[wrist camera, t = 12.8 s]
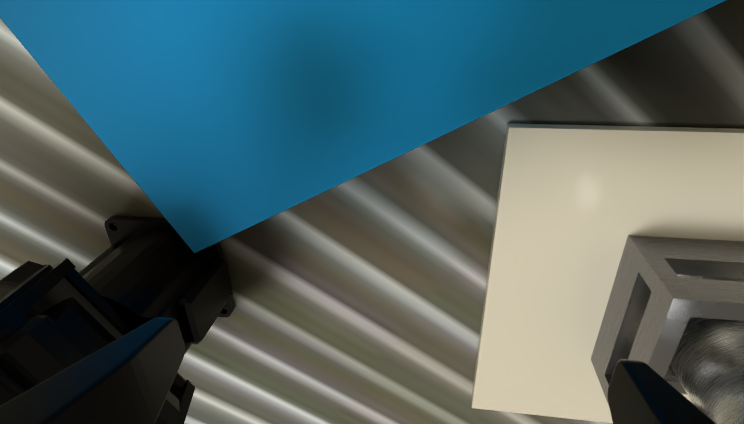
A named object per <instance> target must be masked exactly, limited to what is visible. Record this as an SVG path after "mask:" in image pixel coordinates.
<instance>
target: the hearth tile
mask: <svg viewBox="0 0 744 424" xmlns="http://www.w3.org/2000/svg"><path fill="white" fill-rule="evenodd" d="M628 235H634V236H653V237H672V238H690V239H709V240H728V241H744V129H733V128H688V127H643V126H598V125H553V124H508V123H507V129H506V136H505V144H504V152H503V159H502V167H501V175H500V182H499V190H498V198H497V205H496V213H495V221H494V228H493V236H492V244H491V251H490V259H489V267H488V274H487V282H486V290H485V297H484V305H483V313H482V320H481V328H480V336H479V344H478V351H477V359H476V367H475V374H474V382H473V390H472V397H471V405H472V408H477V409H486V410H496V411H505V412H514V413H523V414H533V415H542V416H551V417H560V418H570V419H579V420H588V421H597V422H607V423H613V421H612V417H611V412H610V408H609V405H608V403H607V400H606V398H605V395H604V392H603V390H602V387H601V385H600V382H599V380H598V377H597V374H596V372H595V369H594V367H593V364H592V361H591V356H592V353H593V350H594V346H595V343H596V340H597V336H598V333H599V330H600V327H601V323H602V320H603V317H604V313H605V310H606V307H607V303H608V300H609V297H610V293H611V290H612V287H613V283H614V280H615V277H616V273H617V270H618V267H619V263H620V260H621V257H622V254H623V250H624V247H625V244H626V240H627V237H628ZM677 275H678V274H677ZM679 276H682V275H678V277H679ZM730 279H731V280H733V281H739V282H744V279H741V278H730ZM651 293H652V292H651ZM642 319H643V317H642ZM641 321H642V320H641ZM640 324H641V323H640ZM639 327H640V326H639ZM638 330H639V329H638ZM637 333H638V331H637ZM636 335H637V334H636ZM635 338H636V337H635ZM634 341H635V340H634ZM633 344H634V343H633ZM632 347H633V345H632ZM631 349H632V348H631ZM630 352H631V351H630ZM682 395H684V396H685V397H686V398H687V399H688V400H689V401H691V400H690V398H689V397H688V395H687V394H682Z"/></svg>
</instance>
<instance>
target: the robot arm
mask: <svg viewBox="0 0 744 424" xmlns="http://www.w3.org/2000/svg"><path fill="white" fill-rule="evenodd" d="M114 224H115V225H116V226H117V227H116V226H115V225H114ZM105 228H106V231H107V234H108V236H109V239H110V242H111V245H112V246H111V247H110V248H109V249H108V250H106V251H105V252H104V253H103V254H101V255H100V256H99V257H98V258H96V259H95V260H94V261H93V262H91V263H90V264H89V265H88V266H87V267H85V268H84V269H83V270H82V271H80V272H79V273H78V272H77V271H76V270H75V269H74V268H75V265H74V264H73V263H72V262H71V261H70V260H69V259H68V258H66V259H64V260H62V261H61V262H59V263H57V264H56V265H54V266H52V267H51V266H50V265H41V264H37V263H34V262H30V261H28V262H26V263H24V264H23V265H21V266H20V267H18V268H17V269H15V270H14V271H12V272H11V273H9V274H8V275H7V276H5V277H4V278H2V279H1V280H0V424H184V421H185V418H186V415H187V412H188V409H189V406H190V403H191V399H192V396H193V393H194V390H195V387H194V386H193V385H192V384H191V383H190V381H189V380H185V379H184V378H183V377H182V376H181V375H180V374H179V373H178V372H177V371H178V369H179V367H180V364H181V362H182V360H183V357H184V354H185V353H186V352H187V350H188V349H189V347H190V346H191V344H198V343H199V342H200V341H202V339H203V338H204V336H205V335H206V333H207V332H208V330H209V329H210V327H211V326H212V324H213V323H214V321H215V320H216V318H217V317H228V316H230V315H231V313H232V312H233V310H234V305H233V301H232V288H231V283H230V279H229V274H228V269H227V265H226V260H225V259H224V257H223V255H222V250H221V245H220V242H218V243H215V244H213V245H211V246H209V247H206V248H204V249H202V250H200V251H198V252H196V253H194V252H193V251H192V250H191V249H190V247H189V246H188V245H187V244H186V243H185V241H184V240H183V239H182V238H181V236H180V235H179V234H178V233H177V232H176V230H175V229H174V228H173V227H172V226H171V224H170V223H169V222H168V221H167V219H164V218H146V217H128V216H112V217H110V218H109V219H108V220H106V221H105ZM224 308H225V309H224ZM607 396H608V403H609V408H610V412H611V417H612V421H613V424H716V423H715V422H714V421H713V420H711V419H710V418H709V417H708V416H707V415H706V414H704V413H703V412H702V411H701V410H700V409H699V408H698V407H696V406H695V405H694V404H693V403H692V402H691V401H689V400H688V399H687V398H686V397H685V396H684V395H682V394H681V393H680V392H679V391H678V390H677V389H675V388H674V387H673V386H672V385H671V384H670V383H668V382H667V381H666V380H665V379H664V378H663V377H661V376H660V375H659V374H658V373H657V372H656V371H655V370H653V369H652V368H651V367H650V366H649V365H647V364H646V363H644V362H642V361H637V360H626V359H622V360H619V361H618V362H617V364H616V367H615V369H614V372H613V375H612V378H611V381H610V384H609V387H608V393H607Z"/></svg>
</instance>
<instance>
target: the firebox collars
mask: <svg viewBox="0 0 744 424" xmlns="http://www.w3.org/2000/svg"><path fill="white" fill-rule="evenodd" d="M677 274H678V275H694V276H709V277H725V278H741V279H744V241H728V240H709V239H690V238H672V237H653V236H634V235H628V237H627V240H626V244H625V247H624V250H623V254H622V257H621V260H620V263H619V267H618V270H617V273H616V277H615V280H614V283H613V287H612V290H611V293H610V297H609V300H608V303H607V307H606V310H605V313H604V317H603V320H602V323H601V327H600V330H599V333H598V336H597V340H596V343H595V346H594V350H593V353H592V356H591V361H592V364H593V367H594V369H595V372H596V374H597V377H598V380H599V382H600V385H601V387H602V390H603V392H604V395H605V398H606V400H607V403H608V396H607V393H608V387H609V384H610V381H611V378H612V375H613V372H614V369H615V367H616V364H617V362H618V361H619V360H622V359H626V360H637V361H642V362H644V363H646V364H647V365H649V366H650V367H651V368H652V369H653V370H655V371H656V372H657V373H658V374H659V375H660V376H661V377H663V378H664V379H665V380H666V381H667V382H668V383H670V384H671V385H672V386H673V387H674V388H675V389H677V390H678V391H679V392H680V393H681V394H687V393H686V391H685V390H684V388H683V386H682V385H681V383H680V381H679V380H678V378H677V377H676V376H675V375H674V374H673V373H672V372H671V370H670V369H669V365H670V363H671V361H672V358H673V356H674V354H675V351H676V349H677V347H678V344H679V342H680V339H681V337H682V335H683V332H684V330H685V328H686V325H687V323H688V321H689V318H690V317H699V318H712V319H725V320H738V321H744V282H739V281H723V280H708V279H693V278H679V277H678V275H677ZM651 292H652V293H651ZM650 295H651V296H650ZM649 298H650V299H649ZM648 301H649V302H648ZM647 303H648V305H647ZM646 306H647V307H646ZM645 309H646V310H645ZM644 312H645V313H644ZM643 315H644V316H643ZM642 317H643V319H642ZM641 320H642V321H641ZM640 323H641V324H640ZM639 326H640V327H639ZM638 329H639V330H638ZM637 331H638V333H637ZM636 334H637V335H636ZM635 337H636V338H635ZM634 340H635V341H634ZM633 343H634V344H633ZM632 345H633V347H632ZM631 348H632V349H631ZM630 351H631V352H630ZM608 405H609V403H608Z"/></svg>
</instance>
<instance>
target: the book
mask: <svg viewBox="0 0 744 424" xmlns="http://www.w3.org/2000/svg"><path fill="white" fill-rule="evenodd" d="M724 1H726V0H0V18H1V19H2V20H3V22H4V23H5V24H6V25H7V27H8V28H9V29H10V30H11V31H12V33H13V34H14V35H15V36H16V37H17V39H18V40H19V41H20V42H21V44H22V45H23V46H24V47H25V48H26V50H27V51H28V52H29V53H30V54H31V56H32V57H33V58H34V59H35V61H36V62H37V63H38V64H39V65H40V67H41V68H42V69H43V70H44V71H45V73H46V74H47V75H48V76H49V78H50V79H51V80H52V81H53V82H54V84H55V85H56V86H57V87H58V88H59V90H60V91H61V92H62V93H63V95H64V96H65V97H66V98H67V99H68V101H69V102H70V103H71V104H72V105H73V107H74V108H75V109H76V110H77V111H78V113H79V114H80V115H81V116H82V118H83V119H84V120H85V121H86V122H87V124H88V125H89V126H90V127H91V128H92V130H93V131H94V132H95V133H96V135H97V136H98V137H99V138H100V139H101V141H102V142H103V143H104V144H105V145H106V147H107V148H108V149H109V150H110V152H111V153H112V154H113V155H114V156H115V158H116V159H117V160H118V161H119V162H120V164H121V165H122V166H123V167H124V169H125V170H126V171H127V172H128V173H129V175H130V176H131V177H132V178H133V179H134V181H135V182H136V183H137V184H138V186H139V187H140V188H141V189H142V190H143V192H144V193H145V194H146V195H147V196H148V198H149V199H150V200H151V201H152V202H153V204H154V205H155V206H156V207H157V209H158V210H159V211H160V212H161V213H162V215H163V216H164V217H165V218H166V219H167V221H168V222H169V223H170V224H171V226H172V227H173V228H174V229H175V230H176V232H177V233H178V234H179V235H180V236H181V238H182V239H183V240H184V241H185V243H186V244H187V245H188V246H189V247H190V249H191V250H192V251H193V252H194V253H196V252H198V251H200V250H202V249H204V248H206V247H209V246H211V245H213V244H215V243H218V242H220V241H222V240H224V239H226V238H228V237H230V236H232V235H234V234H236V233H239V232H241V231H243V230H245V229H247V228H249V227H251V226H253V225H255V224H257V223H260V222H262V221H264V220H266V219H268V218H270V217H272V216H274V215H276V214H278V213H281V212H283V211H285V210H287V209H289V208H291V207H293V206H295V205H297V204H299V203H302V202H304V201H306V200H308V199H310V198H312V197H314V196H316V195H318V194H320V193H323V192H325V191H327V190H329V189H331V188H333V187H335V186H337V185H339V184H341V183H344V182H346V181H348V180H350V179H352V178H354V177H356V176H358V175H360V174H362V173H365V172H367V171H369V170H371V169H373V168H375V167H377V166H379V165H381V164H383V163H386V162H388V161H390V160H392V159H394V158H396V157H398V156H400V155H402V154H404V153H407V152H409V151H411V150H413V149H415V148H417V147H419V146H421V145H423V144H425V143H428V142H430V141H432V140H434V139H436V138H438V137H440V136H442V135H444V134H446V133H449V132H451V131H453V130H455V129H457V128H459V127H461V126H463V125H465V124H467V123H470V122H472V121H474V120H476V119H478V118H480V117H482V116H484V115H486V114H488V113H491V112H493V111H495V110H497V109H499V108H501V107H503V106H505V105H507V104H509V103H512V102H514V101H516V100H518V99H520V98H522V97H524V96H526V95H528V94H530V93H533V92H535V91H537V90H539V89H541V88H543V87H545V86H547V85H549V84H551V83H554V82H556V81H558V80H560V79H562V78H564V77H566V76H568V75H570V74H572V73H575V72H577V71H579V70H581V69H583V68H585V67H587V66H589V65H591V64H593V63H596V62H598V61H600V60H602V59H604V58H606V57H608V56H610V55H612V54H615V53H617V52H619V51H621V50H623V49H625V48H627V47H629V46H631V45H633V44H636V43H638V42H640V41H642V40H644V39H646V38H648V37H650V36H652V35H654V34H657V33H659V32H661V31H663V30H665V29H667V28H669V27H671V26H673V25H675V24H678V23H680V22H682V21H684V20H686V19H688V18H690V17H692V16H694V15H696V14H699V13H701V12H703V11H705V10H707V9H709V8H711V7H713V6H715V5H717V4H720V3H722V2H724Z"/></svg>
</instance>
